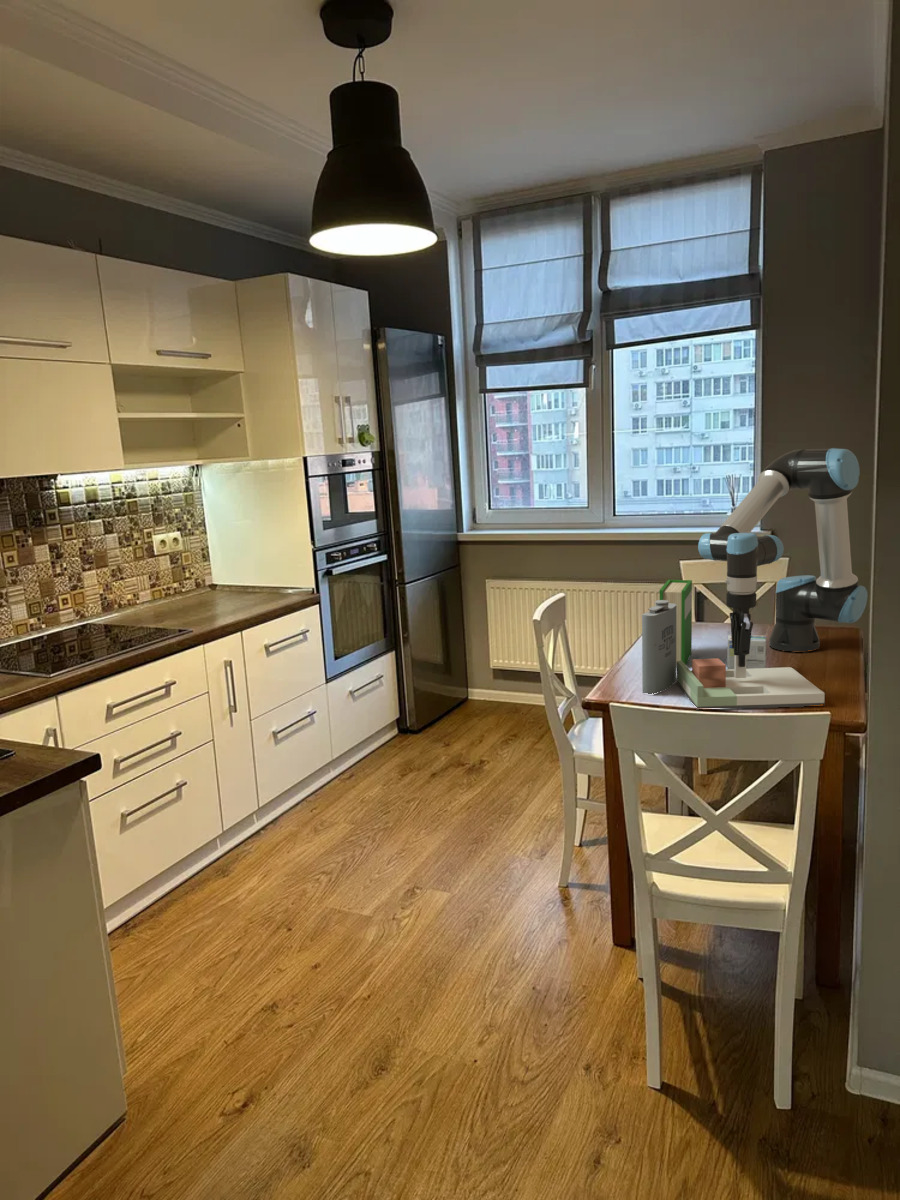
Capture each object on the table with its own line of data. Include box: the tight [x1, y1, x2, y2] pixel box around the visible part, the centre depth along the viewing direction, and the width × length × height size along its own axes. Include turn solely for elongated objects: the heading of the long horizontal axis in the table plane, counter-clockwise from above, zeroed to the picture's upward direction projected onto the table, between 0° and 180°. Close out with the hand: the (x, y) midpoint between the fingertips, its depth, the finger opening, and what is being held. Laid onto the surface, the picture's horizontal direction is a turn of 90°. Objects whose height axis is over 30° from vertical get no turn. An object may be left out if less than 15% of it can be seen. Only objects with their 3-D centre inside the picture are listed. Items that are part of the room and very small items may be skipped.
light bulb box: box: [727, 634, 767, 669], centre depth 240 cm, size 11×7×11 cm, turn 71°
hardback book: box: [659, 579, 693, 666], centre depth 255 cm, size 18×7×24 cm, turn 157°
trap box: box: [676, 661, 826, 711], centre depth 221 cm, size 32×24×6 cm
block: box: [691, 657, 727, 688], centre depth 220 cm, size 7×7×6 cm
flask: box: [641, 599, 677, 694], centre depth 229 cm, size 17×5×25 cm, turn 143°
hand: (740, 677), depth 221 cm, fingers closed
